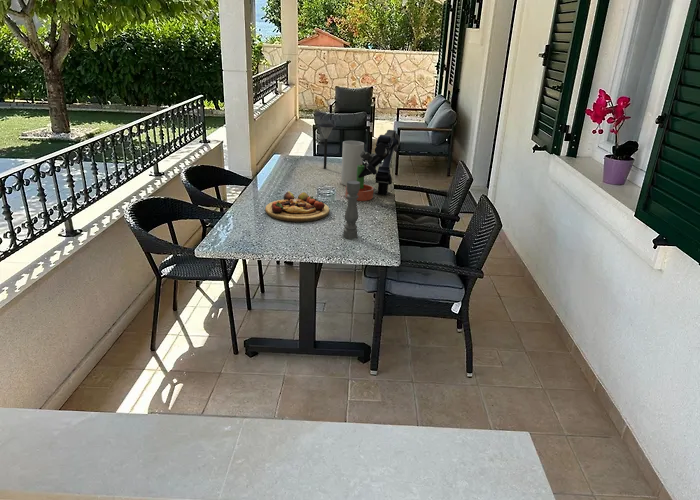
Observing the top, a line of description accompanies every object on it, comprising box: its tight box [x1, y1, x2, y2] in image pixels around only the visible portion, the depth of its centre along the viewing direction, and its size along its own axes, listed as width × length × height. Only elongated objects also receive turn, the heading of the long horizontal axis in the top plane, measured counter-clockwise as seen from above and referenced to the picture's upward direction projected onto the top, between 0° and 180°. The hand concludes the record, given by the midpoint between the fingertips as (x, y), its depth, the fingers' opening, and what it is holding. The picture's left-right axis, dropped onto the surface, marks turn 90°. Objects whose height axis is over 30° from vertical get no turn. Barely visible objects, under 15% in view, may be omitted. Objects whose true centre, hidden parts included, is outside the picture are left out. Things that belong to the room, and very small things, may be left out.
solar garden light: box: [316, 121, 336, 170], centre depth 332 cm, size 12×12×30 cm
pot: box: [344, 183, 375, 202], centre depth 282 cm, size 16×16×6 cm
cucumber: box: [356, 164, 365, 189], centre depth 278 cm, size 4×4×13 cm
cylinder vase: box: [340, 140, 365, 187], centre depth 302 cm, size 12×12×25 cm
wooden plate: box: [264, 190, 330, 222], centre depth 252 cm, size 32×32×8 cm
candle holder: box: [342, 181, 360, 240], centre depth 222 cm, size 6×6×25 cm
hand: (357, 176), depth 278 cm, fingers closed on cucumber, 4 cm apart
